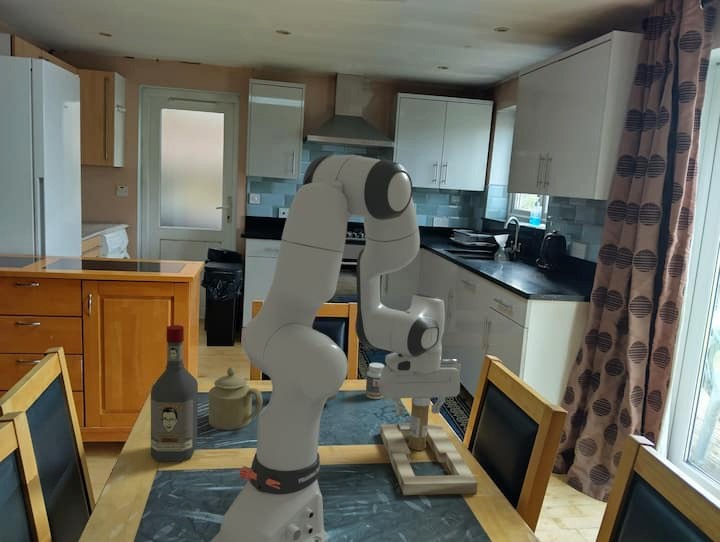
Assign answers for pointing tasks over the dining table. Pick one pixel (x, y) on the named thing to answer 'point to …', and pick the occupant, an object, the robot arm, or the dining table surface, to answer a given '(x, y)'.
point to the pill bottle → (374, 381)
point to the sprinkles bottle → (419, 423)
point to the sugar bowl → (232, 402)
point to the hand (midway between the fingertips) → (417, 413)
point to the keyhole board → (443, 451)
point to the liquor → (174, 405)
